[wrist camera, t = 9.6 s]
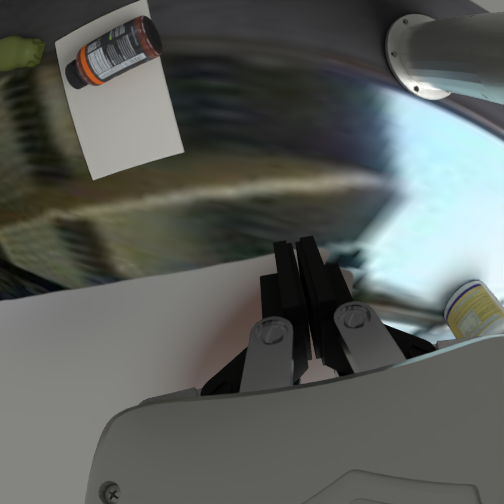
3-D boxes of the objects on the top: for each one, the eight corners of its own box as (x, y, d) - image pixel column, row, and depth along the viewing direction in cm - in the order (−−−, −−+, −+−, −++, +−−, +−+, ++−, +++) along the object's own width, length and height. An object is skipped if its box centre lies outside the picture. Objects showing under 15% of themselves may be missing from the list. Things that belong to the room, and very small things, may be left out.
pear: (-12, 37, 18) (38, 33, 22) (6, 37, 23) (54, 35, 26) (-21, 73, 21) (28, 72, 24) (-2, 70, 25) (45, 70, 29)
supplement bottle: (166, 45, 29) (91, 82, 30) (148, 8, 24) (70, 50, 25) (161, 63, 26) (78, 104, 28) (139, 20, 21) (53, 70, 22)
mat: (146, -2, 24) (145, -2, 24) (184, 151, 36) (183, 152, 36) (56, 42, 26) (54, 42, 25) (94, 179, 37) (92, 180, 37)
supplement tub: (432, 321, 54) (465, 382, 40) (460, 275, 48) (504, 334, 33) (466, 321, 55) (498, 374, 41) (492, 280, 49) (532, 332, 35)
